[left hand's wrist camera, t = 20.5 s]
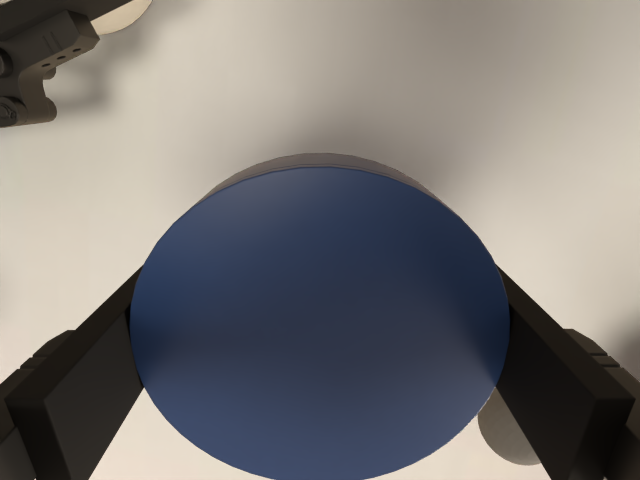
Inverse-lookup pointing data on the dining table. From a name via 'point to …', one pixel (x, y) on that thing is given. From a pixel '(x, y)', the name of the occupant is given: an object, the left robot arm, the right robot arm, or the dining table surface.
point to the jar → (115, 16)
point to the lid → (319, 320)
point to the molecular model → (505, 432)
